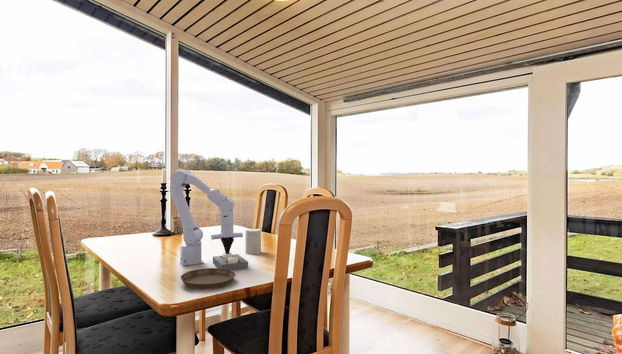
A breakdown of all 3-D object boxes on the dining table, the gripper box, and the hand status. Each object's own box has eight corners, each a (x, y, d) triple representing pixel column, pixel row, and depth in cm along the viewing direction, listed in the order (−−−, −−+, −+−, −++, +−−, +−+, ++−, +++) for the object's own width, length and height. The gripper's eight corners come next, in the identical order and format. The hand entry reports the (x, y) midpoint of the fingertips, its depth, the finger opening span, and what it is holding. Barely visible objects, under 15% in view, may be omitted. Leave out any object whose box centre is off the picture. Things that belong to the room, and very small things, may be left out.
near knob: (229, 268, 163) (229, 259, 163) (226, 266, 167) (226, 257, 167) (239, 267, 165) (239, 258, 165) (236, 265, 169) (236, 256, 169)
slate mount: (221, 271, 160) (221, 264, 160) (212, 263, 175) (212, 256, 175) (248, 268, 166) (248, 261, 165) (237, 260, 180) (237, 254, 180)
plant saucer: (244, 278, 152) (244, 270, 152) (217, 294, 132) (217, 285, 132) (200, 273, 158) (200, 266, 158) (168, 288, 138) (168, 279, 138)
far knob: (223, 263, 172) (223, 254, 172) (221, 261, 176) (221, 252, 175) (233, 262, 174) (233, 253, 174) (230, 260, 178) (230, 252, 177)
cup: (253, 254, 191) (253, 231, 191) (242, 252, 196) (242, 230, 196) (264, 252, 198) (264, 229, 198) (253, 250, 203) (253, 228, 202)
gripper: (213, 227, 167) (213, 257, 168) (244, 224, 174) (244, 253, 174) (210, 224, 174) (210, 253, 174) (240, 222, 180) (240, 250, 181)
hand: (227, 253), depth 174 cm, fingers closed, pressing on far knob
